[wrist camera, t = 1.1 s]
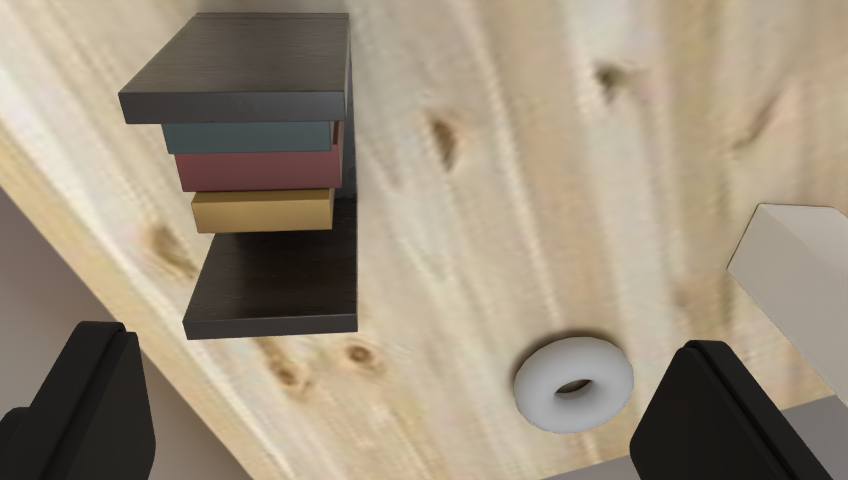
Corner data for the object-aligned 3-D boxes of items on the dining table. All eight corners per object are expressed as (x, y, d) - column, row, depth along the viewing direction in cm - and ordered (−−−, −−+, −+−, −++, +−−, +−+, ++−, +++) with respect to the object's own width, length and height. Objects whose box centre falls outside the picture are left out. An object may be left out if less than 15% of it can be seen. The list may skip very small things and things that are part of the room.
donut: (556, 310, 45) (486, 392, 49) (570, 341, 42) (494, 424, 46) (648, 349, 49) (575, 422, 53) (666, 380, 46) (588, 454, 50)
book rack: (196, 12, 30) (116, 93, 20) (349, 13, 31) (344, 91, 21) (233, 207, 37) (186, 340, 27) (358, 204, 38) (358, 332, 28)
